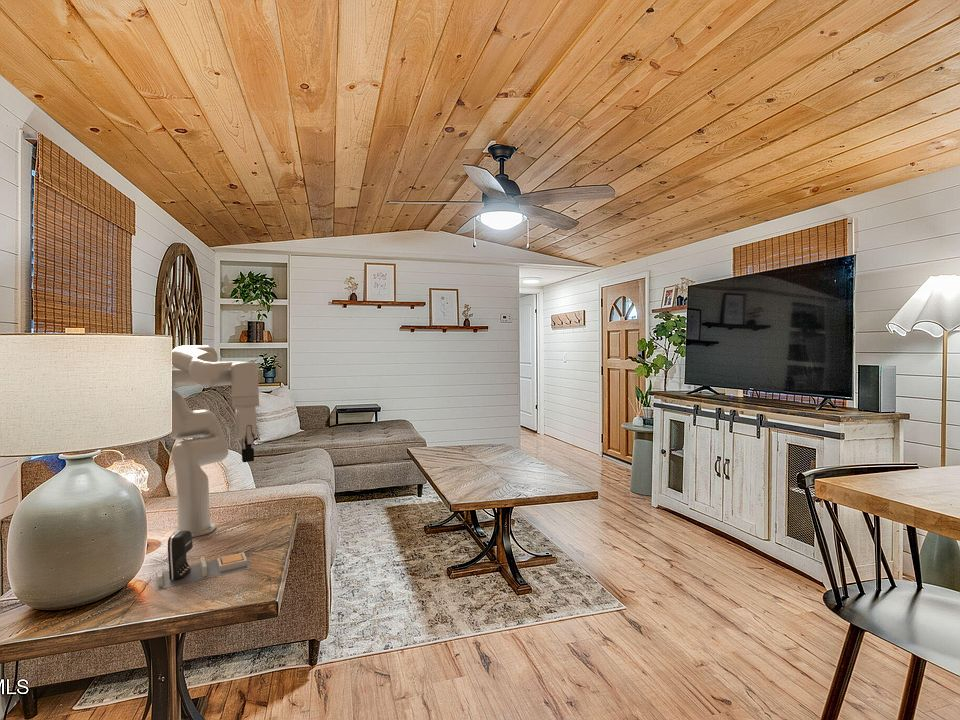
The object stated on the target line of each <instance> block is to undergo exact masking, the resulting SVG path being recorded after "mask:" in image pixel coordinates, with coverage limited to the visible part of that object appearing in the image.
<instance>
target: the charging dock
mask: <svg viewBox="0 0 960 720" xmlns="http://www.w3.org/2000/svg"><path fill="white" fill-rule="evenodd" d="M239 553H241V555H242V558H243V560H242V561H237V562H233V563H228V564H224V565H222V563H221V557H222V556H221V557H220V556H219V557H217V558H216V559H215V560H211V561H206V558H205V556H201V557H199V558H200V560H199V562H200V563H197V564H193V565H189V566H190V568H191V570H190V572H189V573H188V574H187V575H186V576H185V577H183V578H182V579H177V580H170V579H169V570H166V571H163V565H158V566H157V573H155V591H160V590H161V591H162V590H165V589H169V588H174V587H178V586H181V585H185V584H190V583H195V582H198V581H203V580H208V579H211V578H216V577H220V576H221V577H222V576H225V575H229V574H232V573H233V574H234V573H236V572H241V571H245V570H249V569H252V567H251V565H250V563H249V560H248V559H247V555H246V554H245V552H244V551H243V552H238V553H237V554H239ZM235 554H236V553H235ZM235 554H234V553H233V554H232V555H235ZM230 555H231V554H229V555H224V556H223V557H226V556H230Z"/></svg>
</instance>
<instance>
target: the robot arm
mask: <svg viewBox="0 0 960 720" xmlns="http://www.w3.org/2000/svg"><path fill="white" fill-rule="evenodd" d="M171 351H172V387H171V388H176V387H177V388H179V387H189V386H196V385H201V386H204V387H213V388H214V387H223V386H225V387H227V386H231V399H232V400H231V403H232V404H231V405H232V408H233V409H235V437H236V439H237V440H238V441H241V461H242V463H249V462H250V463H251V462H254V461H255V452H254V451H255V448H254V440H255V439H256V438H257V411H256V407H259V406H260V395H259V394H260V393H259V390H260V389H259V367H258V364H257V363H256V362H255V361H240V360H239V361H238V360H237V361H235V360H233V361H231V360H230V361H226V360H225V361H218V359H219V357H218V353H217V351H216V350H215V348H213V347H212V346H211V345H206V344H203V345H199V344H198V345H197V344H196V345H189V344H187V345H186V344H185V345H180V346H176V347H175V348H173V349H172V350H171ZM221 427H222V426H221V425H220V422H219V420H218V417H217V416H216V414H215V413H214V412H212V411H211V410H209V409H196V410H191V409H190V408H189V407H188V404H187V402H186V399H185V397H183V396H182V395H181V394H180V393H179V392H178V391H176V390H174V389H172V432H171V434H170V435H169V434H168V435H169V437H170V438H171V439H173V440H177V441H180V440H181V441H180V442H178V443H176V444H175V445H174V446H173V448H172V449H171V460H172V463H173V467H174V472H175V484H176V501H177V502H176V503H177V525H178V526H177V527H178V528H176V529H174V530H173V532H172V533H173V534H174V533H176V532H177V531H190V532H191V534H192V538H196V537H200V536H204V535H207V534H209V533H212V532H213V531H214V530H215V529H216V524H215V523H214V522H211V510H210V509H211V507H210V506H211V505H210V488H209V487H210V486H209V476H208V475H207V473H206V472H205V471H204V470H203V469H202V468H201V467H202V466H206V465H210V464H214V463H215V464H216V463H220V462H222V461H224V460H225V459H226V458H227V457H228V454H229V445H228V441H227V439H226V436H225V434H224V431H223V429H222V428H221ZM182 440H183V441H182ZM173 534H172V535H173Z"/></svg>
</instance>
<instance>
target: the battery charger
mask: <svg viewBox="0 0 960 720" xmlns="http://www.w3.org/2000/svg"><path fill="white" fill-rule="evenodd" d="M193 544H194V543H193V537H192V534H191V532H190V531H177V532H176V533H174V534H172V535H170V537H169V538H168V540H167V559H168V560H167V561H168V571H169V579H170V580H177V579H182V578H183V577H185V576H186V575H187V574H188V573H189V572H190V570H191V568H190V566H191V565H189V563H188V560H187V553H189V551H191V550H192V549H193Z"/></svg>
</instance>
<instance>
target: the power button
mask: <svg viewBox="0 0 960 720" xmlns="http://www.w3.org/2000/svg"><path fill="white" fill-rule="evenodd" d="M238 553H239V554H238ZM238 553H235V555H233V554H229V555H230V556H228V555H225V556H226V557H224V556H221V563H222V565H224V564H228V563H233V562H237V561H242V560H243V558H242V555H241V553H242V552H238Z"/></svg>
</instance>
